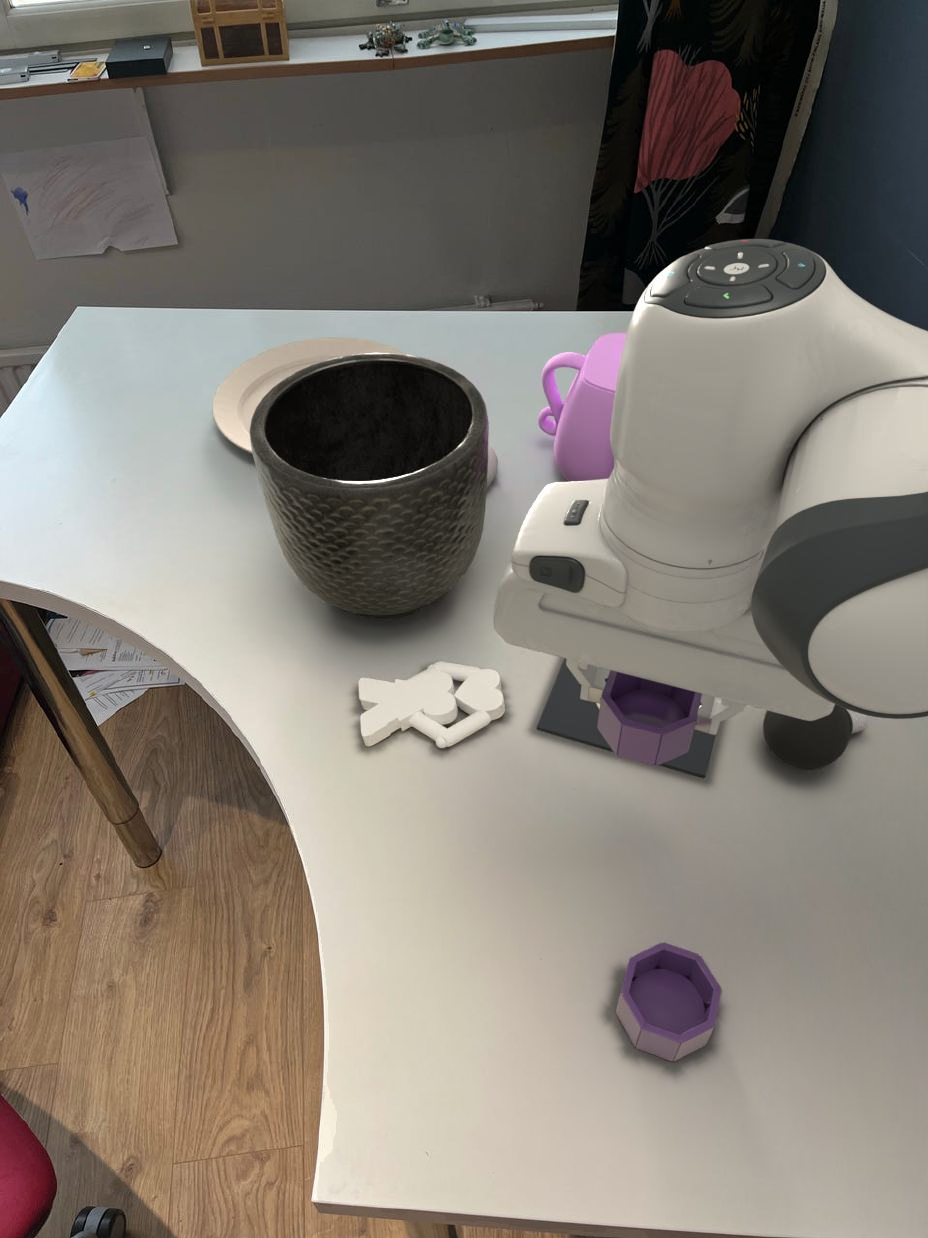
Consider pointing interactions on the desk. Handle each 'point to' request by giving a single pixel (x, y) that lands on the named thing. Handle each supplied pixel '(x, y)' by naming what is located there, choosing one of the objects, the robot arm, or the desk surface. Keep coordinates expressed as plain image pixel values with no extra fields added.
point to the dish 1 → (647, 718)
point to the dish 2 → (668, 1001)
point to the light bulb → (811, 737)
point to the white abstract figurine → (431, 703)
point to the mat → (581, 720)
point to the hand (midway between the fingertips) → (648, 709)
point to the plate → (276, 379)
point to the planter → (374, 478)
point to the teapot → (584, 409)
